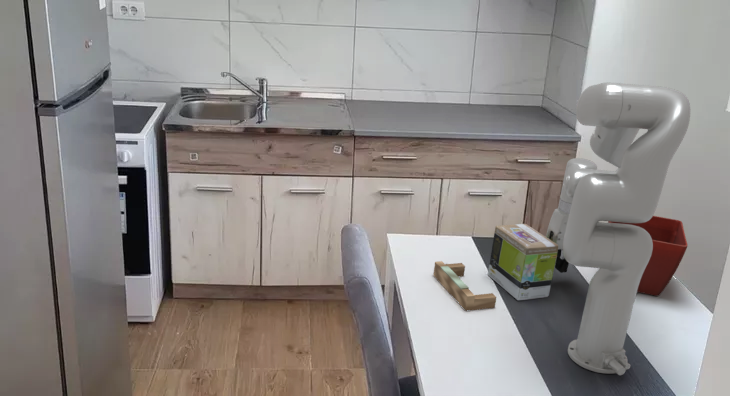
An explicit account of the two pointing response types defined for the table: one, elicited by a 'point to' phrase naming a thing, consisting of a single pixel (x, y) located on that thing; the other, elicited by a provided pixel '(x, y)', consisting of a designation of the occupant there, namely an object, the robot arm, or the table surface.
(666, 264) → the plant pot
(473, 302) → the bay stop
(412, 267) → the table surface
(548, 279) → the tea box
